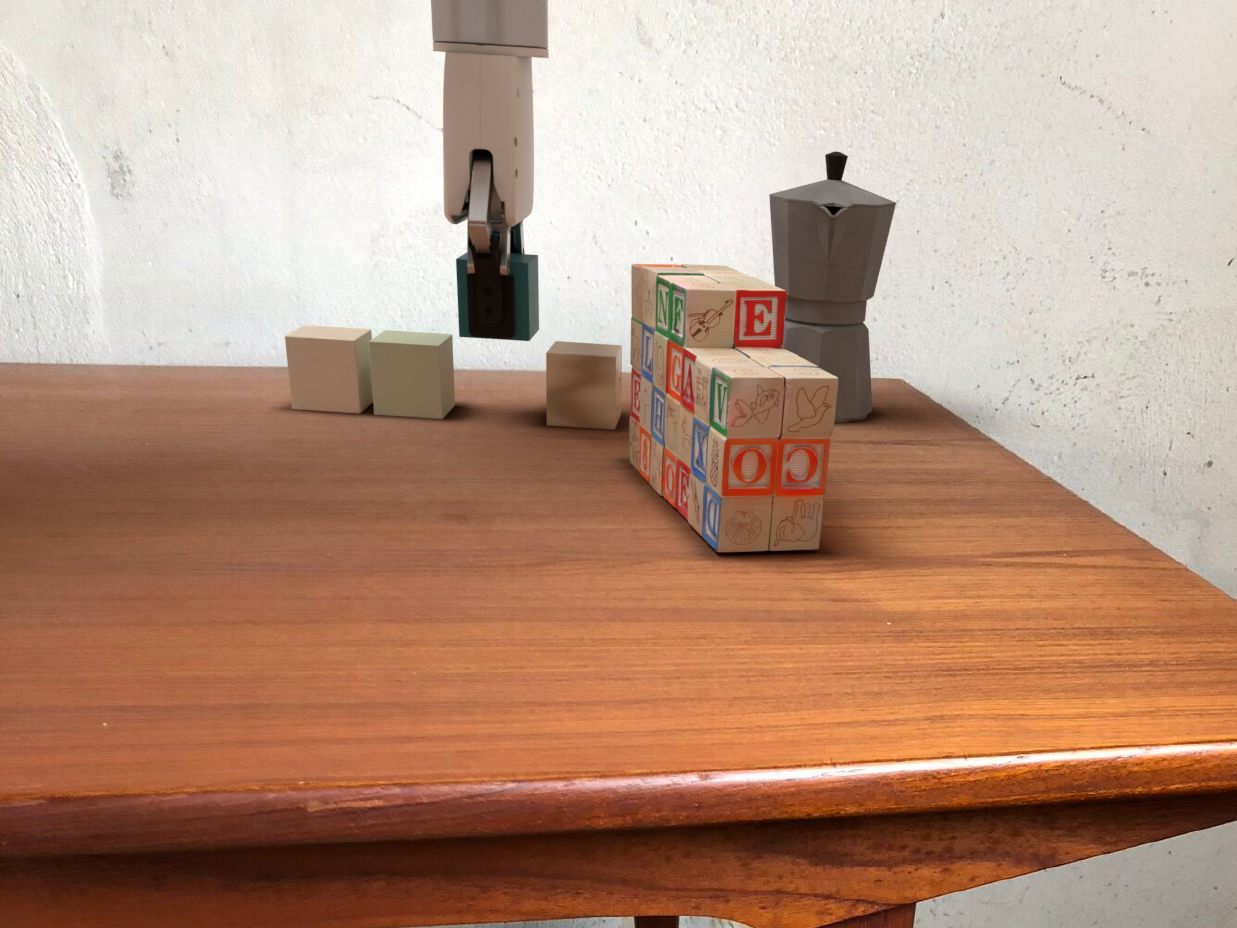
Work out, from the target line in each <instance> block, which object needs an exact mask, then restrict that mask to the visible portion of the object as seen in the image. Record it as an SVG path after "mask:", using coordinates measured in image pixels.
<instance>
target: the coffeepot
mask: <svg viewBox="0 0 1237 928" xmlns="http://www.w3.org/2000/svg"><path fill="white" fill-rule="evenodd" d="M824 157H825V169H826V170H825V171H826V179H823V180H819V181H816V182H811V183H808V184H804V185H800V186H796V187H792V188H788V189H784V190H780V191H777V192H773V193H769V194H768V196H769V212H770V213H769V214H770V229H771V245H772V246H771V247H772V262H773V264H772V265H773V279H774V280H773V281H774V286H776V287H779V288H781V289H783V290H785V291H786V305H785V321H784V338H783V348H782V349H786V350H788V351H790V352H792V353H794V354H796V355H798V356H799V357H801V358H803V359H805V360H807V361H809V362H811V363H813V364H815V365H816V366H818V367H819V368H821V369H823V370H824V371H826V372H828V373H830V374H832V375H834V376H836V377H838V390H837V400H836V411H835V419H834V424H835V423H850V422H857V421H861V420H863V419H866V418H867V417H868V415H869V414H870V413H871V412H873V393H872V371H871V352H870V351H871V350H870V331H869V328H868V327H867V325H866V324H865V321H866V314H867V305H868V301H869V300H871V299H873V298H874V296H875V292H876V290H877V289H876V288H877V285H878V280H879V275H880V272H881V268H882V264H883V259H884V256H885V251H886V247H887V242H888V239H889V234H890V231H891V226H892V222H893V218H894V214H895V209H896V206H897V202H896V201H893V200H892V199H889V198H886V197H884V196H881V195H878V194H876V193H874V192H871V191H869V190H866V189H865V188H862V187H860V186H857V185H855V184H852V183H849V182H847V181H844V180H843V177H844V173H845V169H846V165H847V161H848V157H849V156H848V155H847V154H845V153H843V152H841V151H832V152H829V153H826V154H824Z"/></svg>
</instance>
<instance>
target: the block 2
mask: <svg viewBox="0 0 1237 928" xmlns="http://www.w3.org/2000/svg"><path fill="white" fill-rule="evenodd" d="M453 342H454V341H453V334H451V333H437V332H433V333H432V332H422V331H421V332H420V331H406V330H405V331H404V330H392V329H391V330H389V329H385V330H383V331H382V332H380V333H378V334H377V335H376V336H374V337H372V340H370V341H369V349H370V363H371V377H372V391H373V403H372V404H373V405H372V406H373V415H375V416H389V417H402V418H403V417H405V418H418V419H435V420H443V419H444V418H445V417H446V416H447V415H448V414H449V412H451V410H452V409H453V408H454V407H455V406H456V391H455V368H454V366H455V365H454V364H455V363H454V343H453Z"/></svg>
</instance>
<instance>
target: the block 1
mask: <svg viewBox="0 0 1237 928" xmlns="http://www.w3.org/2000/svg"><path fill="white" fill-rule="evenodd" d="M372 335H373V334H372V329H371V328H357V327H340V326H326V325H325V326H324V325H310V324H304V325H303V326H300V327H298V328H297V329H295V330H293V331H291V332H290V333H288V334H286V335H284V343H285V353H286V361H287V362H286V363H287V372H288V373H287V374H288V381H289V392H290V393H289V394H290V402H291V410H293V411H294V410H296V411H313V412H328V413H343V414H357V415H358V414H361V413H363V412H364V411H365V410H366V409H367V408H369V407H370V406H371V405H372V404H373V391H372V377H371V363H370V349H369V341H370V340H372V339H373V336H372Z"/></svg>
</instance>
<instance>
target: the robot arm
mask: <svg viewBox="0 0 1237 928" xmlns="http://www.w3.org/2000/svg"><path fill="white" fill-rule="evenodd" d="M430 9H431V11H430V13H431V31H432V41H433V42H432V52H439V53H440V52H441V53H444V65H443V66H444V67H443V82H442V83H443V86H442V88H443V89H442V159H443V160H442V165H443V166H442V167H443V173H442V174H443V214H444V217H445V219H446V220H447V221H448V223H450V224H451V225H459V224H461V223H463V222H465V221H467V225H466V226H467V228H466V229H467V231H466V233H467V235H466V236H467V237H466V239H467V240H466V241H467V243H466V246H467V247H466V248H467V251H466V253H467V270H468V273H467V297H468V322H469V333H470V334H471V335H472V336H474V337H488V338H504V339H511V338H512V337H513V336H514V335H515V291H514V275H509V272H510V253H514V254H526V252H525V237H524V236H525V235H524V220H525V219H527V218H528V217H529V216H531V214H532V212H533V208H534V196H535V195H534V193H535V130H534V128H535V127H534V126H535V125H534V88H533V59H532V58H539V59H540V58H541V59H549V1H548V0H430Z"/></svg>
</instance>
